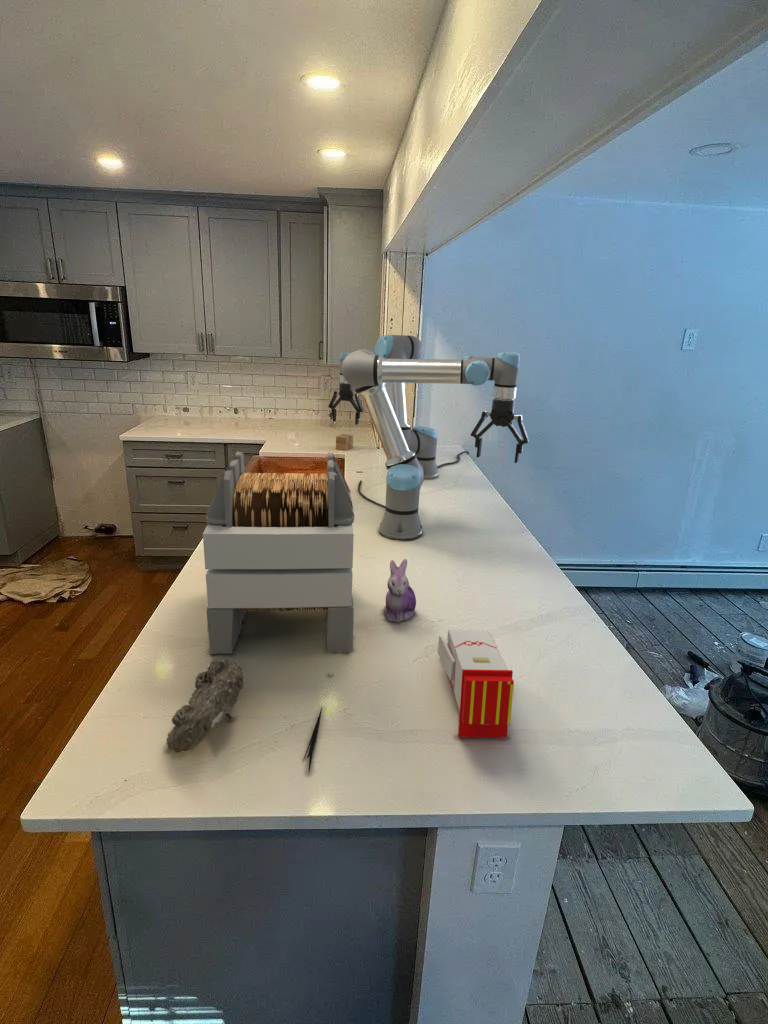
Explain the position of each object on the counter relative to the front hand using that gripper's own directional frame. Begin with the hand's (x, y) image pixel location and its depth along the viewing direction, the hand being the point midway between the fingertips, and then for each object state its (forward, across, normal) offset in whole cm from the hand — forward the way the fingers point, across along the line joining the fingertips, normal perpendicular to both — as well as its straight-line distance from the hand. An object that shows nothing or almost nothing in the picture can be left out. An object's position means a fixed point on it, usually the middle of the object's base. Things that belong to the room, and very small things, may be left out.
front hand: (497, 459), depth 201 cm
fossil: (+26, +22, +127) cm, 132 cm away
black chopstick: (+26, +3, +118) cm, 121 cm away
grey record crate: (+26, +30, +90) cm, 98 cm away
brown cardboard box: (+26, +103, -79) cm, 132 cm away
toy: (+26, -20, +97) cm, 102 cm away
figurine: (+26, +5, +74) cm, 79 cm away
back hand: (+11, +100, -76) cm, 126 cm away
